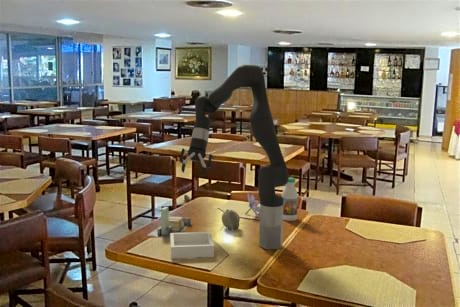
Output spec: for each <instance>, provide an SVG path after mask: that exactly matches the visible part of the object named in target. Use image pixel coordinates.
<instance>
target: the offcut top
mask: <svg viewBox="0 0 460 307" xmlns="http://www.w3.org/2000/svg"><path fill="white" fill-rule="evenodd" d="M180 217H181V216H177V217H169V225H175V226H179V225H180V224H181V223H182V218H180Z"/></svg>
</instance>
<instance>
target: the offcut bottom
mask: <svg viewBox="0 0 460 307" xmlns="http://www.w3.org/2000/svg"><path fill="white" fill-rule="evenodd" d="M169 226H172V230H177V231H179V230H180V229H181V228H182V227H184V222H182V223H181V224H180V225H179V226H175V225H169Z"/></svg>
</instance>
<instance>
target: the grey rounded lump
mask: <svg viewBox="0 0 460 307" xmlns="http://www.w3.org/2000/svg"><path fill="white" fill-rule="evenodd" d="M240 220H241V219H240V215H239V213H238V212H237V211H235V210H234V209H226V210H225V211H224V212H223V213H222V214H221V222H222V225H223V227H225V229H227V230H228V231H236V230H239V229H240Z"/></svg>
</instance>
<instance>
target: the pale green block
mask: <svg viewBox="0 0 460 307" xmlns="http://www.w3.org/2000/svg"><path fill="white" fill-rule="evenodd" d="M169 211H170V210H169V206H164V207H162V208H161V209H160V223H161V224H160V226H161V234H162V235H165V229H166V228H168V227H169V216H170V215H169Z"/></svg>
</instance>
